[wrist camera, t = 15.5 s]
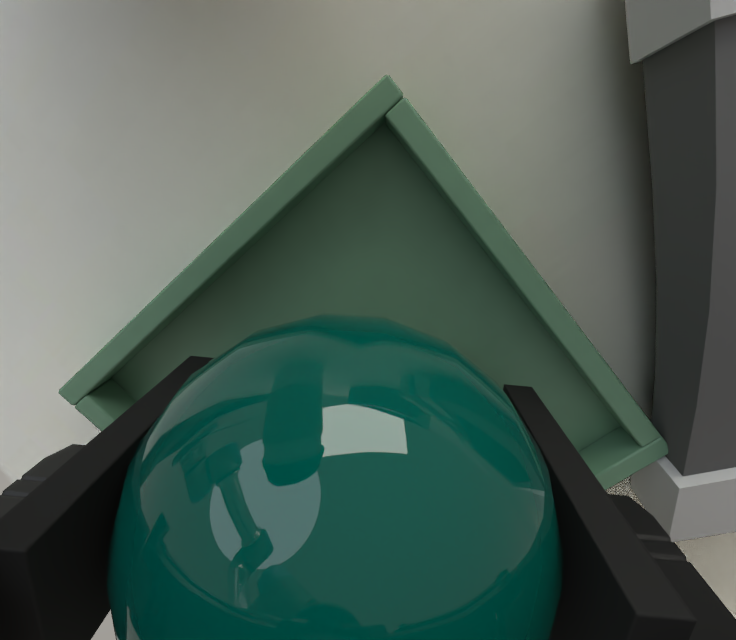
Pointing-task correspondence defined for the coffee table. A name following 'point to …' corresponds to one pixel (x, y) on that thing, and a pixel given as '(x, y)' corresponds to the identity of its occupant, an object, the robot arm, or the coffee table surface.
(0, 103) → the coffee table surface
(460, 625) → the sphere
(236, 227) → the tray
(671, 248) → the alarm clock
